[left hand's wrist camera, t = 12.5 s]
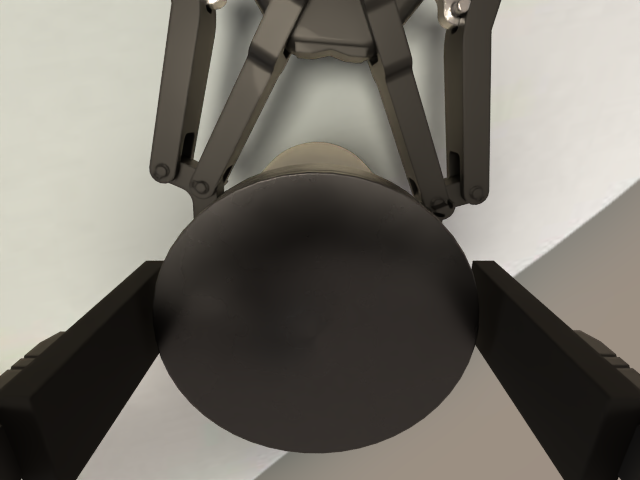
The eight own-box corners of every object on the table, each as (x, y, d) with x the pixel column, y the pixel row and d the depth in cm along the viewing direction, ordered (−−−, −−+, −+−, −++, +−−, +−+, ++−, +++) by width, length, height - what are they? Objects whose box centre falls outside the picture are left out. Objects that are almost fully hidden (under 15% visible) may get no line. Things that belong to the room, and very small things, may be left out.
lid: (504, 201, 11) (534, 215, 10) (409, 433, 15) (420, 472, 13) (186, 129, 10) (163, 133, 9) (163, 392, 14) (143, 429, 12)
